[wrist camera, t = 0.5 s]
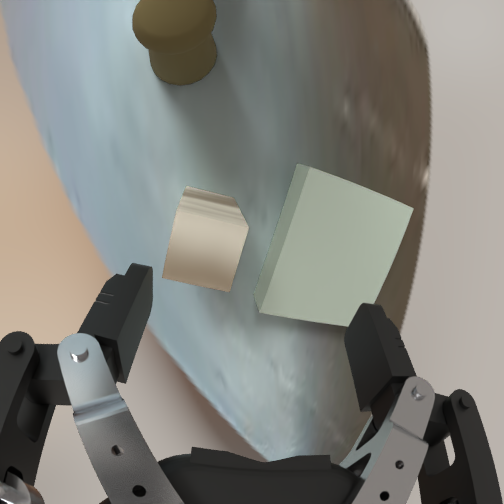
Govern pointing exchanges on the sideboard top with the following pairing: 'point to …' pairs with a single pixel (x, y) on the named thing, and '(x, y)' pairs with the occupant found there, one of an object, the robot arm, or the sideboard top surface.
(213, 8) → the brown rounded piece
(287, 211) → the sage block
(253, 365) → the sideboard top surface
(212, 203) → the maple block
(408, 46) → the sideboard top surface
